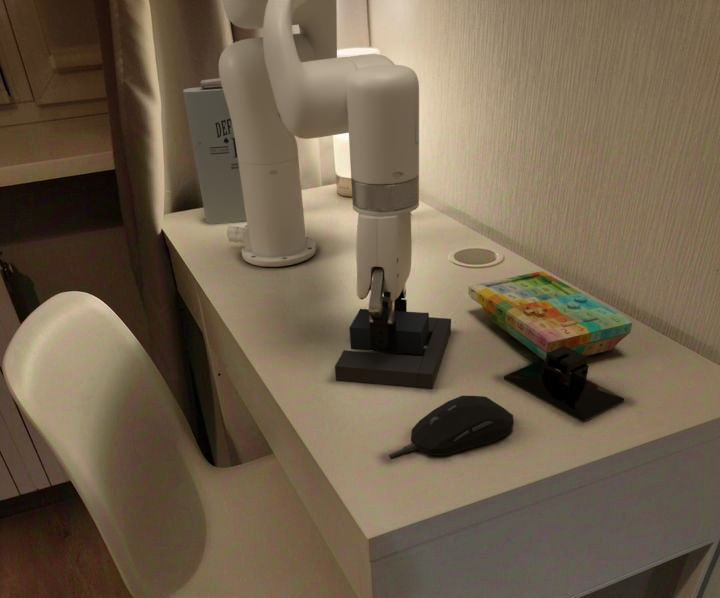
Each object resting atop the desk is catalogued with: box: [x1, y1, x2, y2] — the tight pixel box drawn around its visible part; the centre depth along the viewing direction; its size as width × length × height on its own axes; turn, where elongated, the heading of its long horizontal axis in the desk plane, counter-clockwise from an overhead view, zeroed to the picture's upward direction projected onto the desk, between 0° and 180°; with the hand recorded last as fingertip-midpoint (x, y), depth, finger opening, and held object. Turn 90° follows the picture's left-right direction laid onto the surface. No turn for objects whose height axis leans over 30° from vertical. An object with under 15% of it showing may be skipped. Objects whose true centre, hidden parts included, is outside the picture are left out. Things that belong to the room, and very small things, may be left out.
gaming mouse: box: [388, 395, 515, 459], centre depth 77 cm, size 6×15×4 cm, turn 116°
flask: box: [182, 77, 282, 225], centre depth 132 cm, size 17×5×25 cm, turn 103°
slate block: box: [348, 308, 430, 355], centre depth 91 cm, size 6×9×3 cm, turn 76°
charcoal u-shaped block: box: [334, 316, 452, 389], centre depth 93 cm, size 15×12×2 cm
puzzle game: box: [468, 270, 633, 360], centre depth 95 cm, size 12×5×20 cm
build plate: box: [503, 346, 625, 423], centre depth 84 cm, size 12×7×5 cm, turn 35°
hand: (389, 338), depth 92 cm, fingers closed on slate block, 5 cm apart
